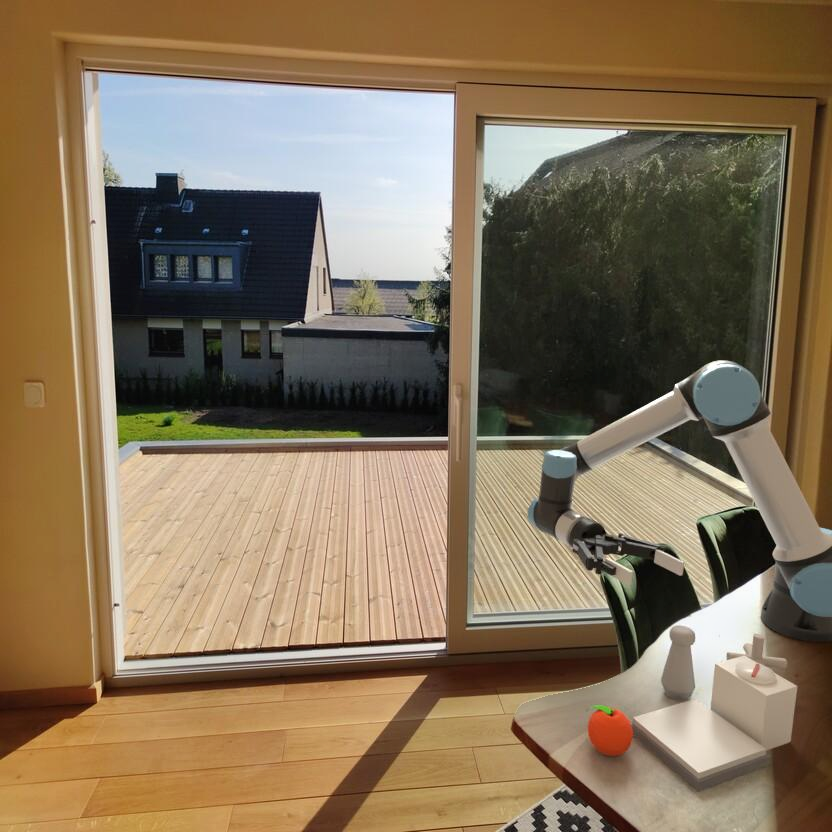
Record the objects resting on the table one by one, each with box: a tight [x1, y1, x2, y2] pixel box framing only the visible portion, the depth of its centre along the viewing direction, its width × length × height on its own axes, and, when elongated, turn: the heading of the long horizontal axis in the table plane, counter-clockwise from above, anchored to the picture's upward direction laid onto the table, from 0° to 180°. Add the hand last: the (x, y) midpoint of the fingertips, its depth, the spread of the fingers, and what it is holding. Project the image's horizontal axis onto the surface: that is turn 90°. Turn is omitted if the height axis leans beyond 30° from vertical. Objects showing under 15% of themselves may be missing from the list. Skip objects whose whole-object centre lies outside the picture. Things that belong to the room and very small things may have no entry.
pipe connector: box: [725, 633, 788, 670], centre depth 120 cm, size 10×10×10 cm
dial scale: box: [629, 656, 798, 792], centre depth 104 cm, size 23×15×11 cm, turn 113°
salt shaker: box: [660, 625, 696, 703], centre depth 117 cm, size 6×6×13 cm
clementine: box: [586, 704, 634, 757], centre depth 102 cm, size 8×7×7 cm
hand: (657, 573), depth 122 cm, fingers open, 13 cm apart
